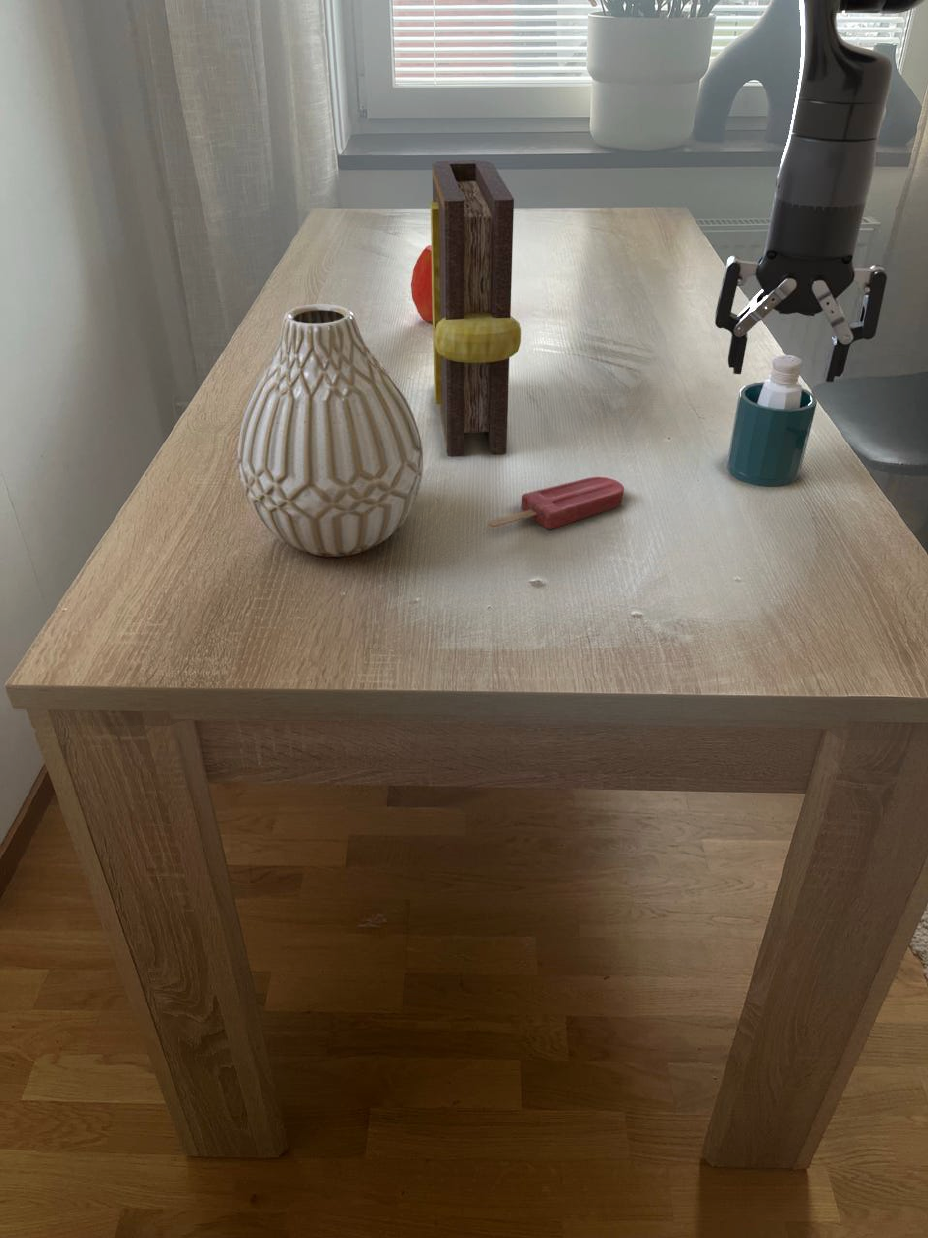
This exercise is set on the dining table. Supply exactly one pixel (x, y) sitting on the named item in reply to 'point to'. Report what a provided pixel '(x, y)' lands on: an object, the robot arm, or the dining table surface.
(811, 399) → the cup
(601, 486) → the popsicle
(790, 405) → the pepper shaker
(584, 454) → the dining table surface
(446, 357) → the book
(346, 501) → the vase
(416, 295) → the apple
